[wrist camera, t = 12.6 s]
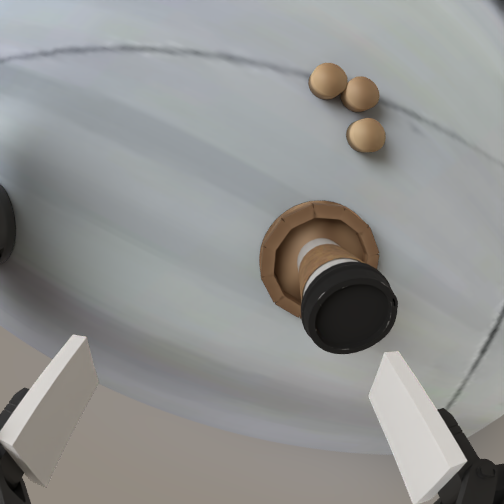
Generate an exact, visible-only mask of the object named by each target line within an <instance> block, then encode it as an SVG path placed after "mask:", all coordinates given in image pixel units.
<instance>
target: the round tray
mask: <svg viewBox="0 0 504 504" xmlns="http://www.w3.org/2000/svg"><path fill="white" fill-rule="evenodd" d="M318 238H325V239H329V240H331V241H333V242H335V243H336V244H338V245H339V246H340V247H342V248H344V249H345V250H347V251H348V252H350V253H351V254H353V255H354V256H356V257H357V258H359V259H360V260H361V261H363V262H364V263H366V264H369V265H371V266H372V267H374V268H376V269H377V265H378V259H379V254H378V253H379V251H378V248H377V245H376V242H375V239H374V237H373V234H372V231H371V228H370V227H369V225H368V224H366V223H365V222H364V221H363V220H362V219H361V218H360V217H359V216H358V215H357V214H356V213H355V212H353V211H352V210H350V209H349V208H347V207H345V206H343V205H341V204H338V203H334V202H330V201H309V202H305V203H301V204H299V205H296V206H294V207H292V208H290V209H289V210H287V211H285V212H284V213H283V214H281V215H280V216H279V217H278V218H277V219H276V220H275V221H274V222H273V224H272V225H271V226H270V228H269V229H268V231H267V233H266V234H265V237H264V239H263V242H262V245H261V249H260V272H261V279H262V281H263V283H264V285H265V287H266V289H267V290H268V292H269V294H270V296H271V298H272V300H273V302H275V304H276V305H278V306H279V307H281V308H283V309H284V310H286V311H288V312H290V313H291V314H293V315H295V316H296V317H298V318H299V316H300V318H301V293H300V283H299V273H298V266H297V259H298V255H299V252H300V250H301V249H302V248H303V246H304V245H305V244H307V243H308V242H310V241H311V240H314V239H318Z"/></svg>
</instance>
